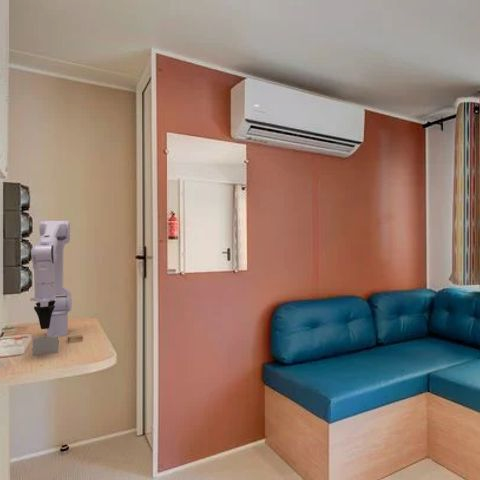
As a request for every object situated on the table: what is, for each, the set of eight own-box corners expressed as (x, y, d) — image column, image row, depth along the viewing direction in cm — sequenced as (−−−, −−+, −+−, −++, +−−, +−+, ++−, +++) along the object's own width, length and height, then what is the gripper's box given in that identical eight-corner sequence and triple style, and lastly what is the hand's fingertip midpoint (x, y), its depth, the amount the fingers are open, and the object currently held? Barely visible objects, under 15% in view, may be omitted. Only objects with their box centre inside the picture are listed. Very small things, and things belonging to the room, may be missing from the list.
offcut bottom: (66, 344, 130) (66, 340, 130) (81, 342, 132) (81, 338, 132) (66, 348, 125) (66, 343, 125) (82, 346, 127) (82, 341, 127)
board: (33, 356, 114) (33, 337, 114) (58, 353, 117) (58, 334, 117) (32, 359, 112) (32, 339, 112) (58, 355, 115) (57, 336, 115)
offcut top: (67, 340, 129) (67, 336, 129) (79, 338, 131) (79, 333, 131) (70, 342, 126) (70, 338, 126) (82, 340, 128) (82, 336, 128)
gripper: (31, 281, 119) (32, 323, 119) (28, 286, 106) (29, 332, 107) (55, 280, 123) (56, 320, 123) (55, 284, 110) (56, 329, 110)
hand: (45, 326), depth 115 cm, fingers open, 7 cm apart
